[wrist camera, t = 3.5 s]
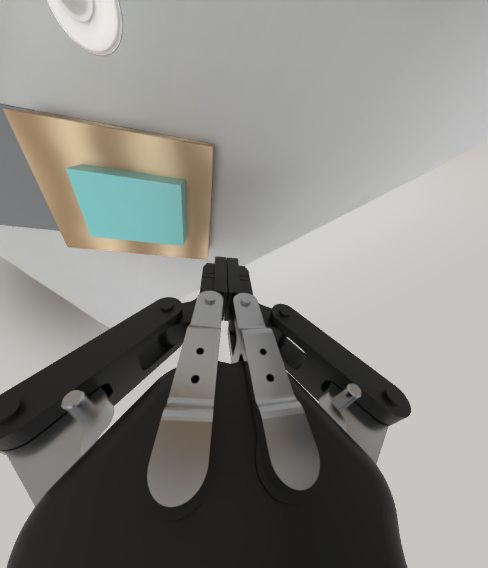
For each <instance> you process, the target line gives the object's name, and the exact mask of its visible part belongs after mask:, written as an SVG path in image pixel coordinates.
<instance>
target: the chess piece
mask: <svg viewBox="0 0 488 568" xmlns="http://www.w3.org/2000/svg"><path fill="white" fill-rule="evenodd" d="M47 1H48V4H49V6H50V8H51V10H52V12H53V14H54V16H55V18H56V19H57V21H58V23H59V24H60V25H61V27H62V28H63V30H64V31H65V32H66V33H67V34H68V35H69V36H70V37H71V38H72V39H73V40H74V41H75V42H76V43H77V44H78V45H79V46H81V47H82V48H83V49H85V50H86V51H88V52H90V53H92V54H95V55H100V56H104V55H108V54H111V53H112V52H114V51H115V50H116V48H117V47H118V45H119V43H120V40H121V36H122V14H121V9H120V5H119V1H118V0H47Z"/></svg>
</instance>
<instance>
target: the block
mask: <svg viewBox="0 0 488 568" xmlns="http://www.w3.org/2000/svg"><path fill="white" fill-rule="evenodd" d="M66 171H67V174H68V176H69V179H70V182H71V185H72V187H73V190H74V193H75V195H76V198H77V201H78V203H79V206H80V209H81V212H82V214H83V217H84V220H85V222H86V225H87V228H88V231H89V233H90V236H91V237H99V238H109V239H119V240H129V241H139V242H149V243H159V244H169V245H179V246H184V243H185V240H186V237H187V222H186V190H185V180H184V179H178V178H171V177H165V176H158V175H152V174H145V173H139V172H132V171H126V170H119V169H113V168H106V167H100V166H93V165H87V164H80V165H76V166H72V167H68V168H66Z"/></svg>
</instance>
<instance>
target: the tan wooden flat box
mask: <svg viewBox="0 0 488 568" xmlns="http://www.w3.org/2000/svg"><path fill="white" fill-rule="evenodd" d="M3 110H4V112H5V115H6V117H7V119H8V121H9V123H10V125H11V127H12V130H13V132H14V134H15V136H16V138H17V140H18V142H19V144H20V147H21V149H22V151H23V153H24V155H25V157H26V159H27V161H28V164H29V166H30V168H31V170H32V172H33V174H34V176H35V179H36V181H37V183H38V185H39V187H40V189H41V191H42V193H43V196H44V198H45V200H46V202H47V204H48V206H49V208H50V211H51V213H52V215H53V217H54V219H55V221H56V223H57V225H58V228H59V230H60V232H61V234H62V236H63V238H64V240H65V243H66V245H67V247H72V248H83V249H94V250H105V251H117V252H128V253H139V254H150V255H161V256H172V257H183V258H194V259H205V260H208V252H209V243H210V223H211V202H212V182H213V162H214V144H211V143H205V142H200V141H195V140H189V139H184V138H179V137H173V136H168V135H163V134H157V133H152V132H147V131H141V130H136V129H131V128H125V127H120V126H115V125H109V124H104V123H99V122H93V121H88V120H83V119H77V118H72V117H67V116H61V115H56V114H51V113H45V112H38V111H26V110H14V109H3ZM80 164H87V165H93V166H100V167H106V168H113V169H119V170H126V171H132V172H139V173H145V174H152V175H158V176H165V177H171V178H178V179H184V180H185V190H186V222H187V237H186V240H185V243H184V246H179V245H169V244H159V243H149V242H139V241H129V240H119V239H109V238H99V237H91V236H90V233H89V231H88V228H87V225H86V222H85V220H84V217H83V214H82V212H81V209H80V206H79V203H78V201H77V198H76V195H75V193H74V190H73V187H72V185H71V182H70V179H69V176H68V174H67V171H66V168H68V167H72V166H76V165H80Z"/></svg>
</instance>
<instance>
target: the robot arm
mask: <svg viewBox="0 0 488 568" xmlns="http://www.w3.org/2000/svg"><path fill="white" fill-rule="evenodd" d="M223 319H224V320H225V321H228V322H229V327H228V339H229V348H230V356H231V364H229V363H224V362H220V361H218V353H219V342H220V332H221V321H222V320H223ZM287 337H288V338H290V339H291V340H292V341H293V342H294V343H296V344H297V345H298V346H299V347H300V348H301V349H302V350H303V351H304V352H305V353H304V352H302V351H301V350H300V349H299V348H298V347H297V346H295V345H294V344H293V343H292V342H291V341H290V340H288V339H287ZM182 344H183V345H182ZM181 345H182V349H181V353H180V357H179V360H178V364H177V368H175V369H173V370H171V371H169V372H167V373H166V374H164V375H163V376H162V377H160V378H159V379H158V380H157V381H156V382H155V383H154V384H153V385H152V386H151V387H150V388H149V389H148V390H147V391H146V392H145V393H144V394H143V395H142V396H141V397H140V398H139V399H138V400H137V401H136V402H135V403H134V404H133V405H132V406H131V407H130V408H129V409H128V410H127V411H126V412H125V413H124V414H123V415H122V416H121V417H120V418H119V419H118V420H117V421H116V422H115V423H114V424H113V425H112V426H111V428H109V429H108V430H107V431H106V433H105V434H103V435H102V436H101V438H99V436H100V435H101V434H102V433H103V431H104V430H105V429H106V428H107V427H108V425H109V424H110V422H111V420H112V417H113V415H114V405H116V404H117V403H118V402H119V401H120V400H121V399H122V398H123V397H124V396H126V394H128V393H129V392H130V391H131V390H132V389H133V388H135V387H136V386H137V385H138V384H139V383H140V382H141V381H142V380H143V379H145V378H146V376H148V375H149V374H150V373H151V372H152V371H153V370H155V369H156V368H157V367H158V366H159V365H160V364H161V363H163V362H164V361H165V360H166V359H167V358H168V357H169V356H170V355H172V354H173V353H174V352H175V351H176V350H177V349H178V348H179V347H180V346H181ZM286 370H287V371H288V372H289V373H290V374H291V375H292V376H293V377H294V378H295V379H296V380H297V381H298V382H299V383H300V384H301V385H302V386H303V387H304V388H305V389H306V390H307V391H308V392H309V393H310V394H311V395H312V396H313V397H315V398H316V399H317V400H318V401H319V404H318V403H317V402H316V401H315V399H314V398H313V397H312V396H311V395H310V394H309V393H308V392H307V391H306V390H305V389H304V388H303V387H302V386H301V385H300V384H299V383H298V382H297V381H296V380H295V379H294V378H293V377H292V376H291V375H290V374H289V373H287V372H286ZM410 413H411V407H410V404H409V401H408V400H407V398H406V396H405V395H404V394H403V393H402V392H401V390H399V389H398V388H397V387H396V386H395V385H393V384H392V383H391V382H389V381H388V380H387V379H385V378H384V377H383V376H381V375H380V374H379V373H377V372H376V371H375V370H373V369H372V368H371V367H369V366H368V365H367V364H365V363H364V362H363V361H361V360H360V359H359V358H358V357H356V356H355V355H354V354H352V353H351V352H350V351H348V350H347V349H346V348H344V347H343V346H341V345H340V344H339V343H337V342H336V341H335V340H334V339H332V338H331V337H329V336H328V335H327V334H326V333H324V332H323V331H322V330H320V329H319V328H318V327H316V326H315V325H314V324H312V323H311V322H310V321H308V320H307V319H306V318H304V317H303V316H302V315H300V314H299V313H298V312H296V311H295V310H294V309H292V308H291V307H289V306H287V305H284V304H277V305H275V306H274V307H273V308H269V307H266V306H263V305H261V304H259V303H258V301H257V299H256V298H255V297H254V296H253V292H252V287H251V282H250V277H249V272H248V270H247V269H246V268H245V266H239V265H238V259H237V258H227V259H226V257H216V256H215V264H212V263H207V264H206V265H205V266H204V267H203V273H202V280H201V288H200V294H199V295H198V297H197V298H196V299H195V300H193V301H191V302H186V303H181V302H180V301H179V300H178V299H176V298H172V297H166V298H162V299H159V300H157V301H156V302H154V303H152V304H151V305H149V306H147V307H146V308H144V309H142V310H141V311H139V312H137V313H136V314H134V315H132V316H131V317H129V318H127V319H126V320H124V321H122V322H121V323H119V324H118V325H116V326H114V327H113V328H111V329H109V330H108V331H106V332H104V333H103V334H101V335H99V336H98V337H96V338H94V339H93V340H91V341H89V342H88V343H86V344H84V345H83V346H81V347H79V348H78V349H76V350H74V351H73V352H71V353H69V354H68V355H66V356H64V357H63V358H61V359H59V360H58V361H56V362H54V363H53V364H51V365H49V366H48V367H46V368H44V369H43V370H41V371H39V372H38V373H36V374H34V375H33V376H31V377H29V378H28V379H26V380H24V381H23V382H21V383H19V384H18V385H16V386H14V387H13V388H11V389H9V390H8V391H6V392H4V393H3V394H1V395H0V453H2V454H5V455H7V456H8V458H9V460H10V461H11V463H12V465H13V467H14V469H15V470H16V472H17V474H18V476H19V478H20V480H21V481H22V483H23V485H24V487H25V489H26V490H27V492H28V494H29V496H30V498H31V499H32V501H33V503H34V505H35V508H34V510H33V511H32V513H31V514H30V516H29V518H28V519H27V521H26V522H25V524H24V526H23V528H22V530H21V532H20V534H19V536H18V538H17V540H16V542H15V545H14V547H13V550H12V553H11V555H10V559H9V561H8V565H7V568H407V565H406V562H405V558H404V553H403V550H402V545H401V539H400V534H399V527H398V520H397V514H396V508H395V504H394V500H393V497H392V495H391V491H390V489H389V487H388V484H387V482H386V480H385V478H384V476H383V475H382V473H381V471H380V470H379V468H378V467H377V465H376V463H377V460H378V457H379V454H380V450H381V448H382V445H383V441H384V438H385V435H386V432H387V429H388V426H390V425H392V424H394V423H396V422H398V421H400V420H402V419H404V418H406V417H408V416H409V415H410ZM98 438H99V439H98Z"/></svg>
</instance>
